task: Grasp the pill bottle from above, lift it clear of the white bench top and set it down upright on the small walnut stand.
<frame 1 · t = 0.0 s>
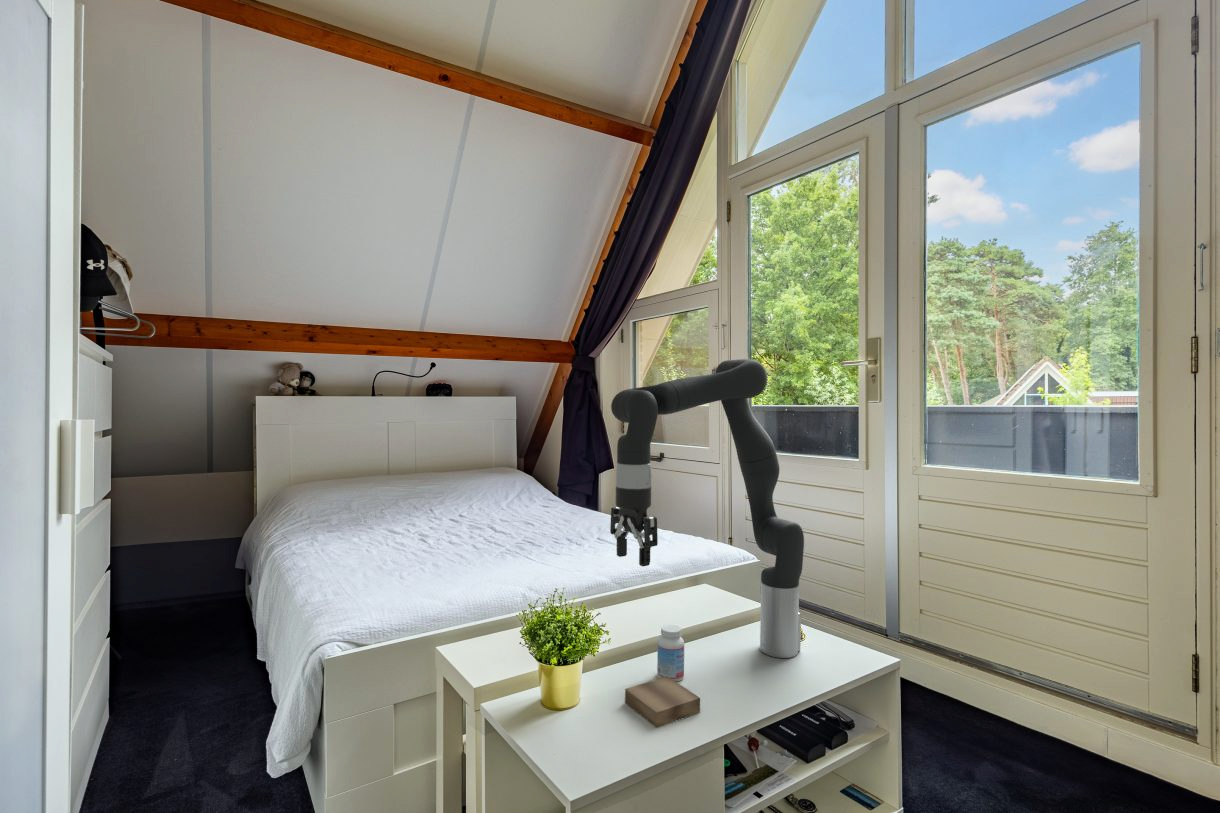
hand: (632, 560, 130), 29 cm above the table, tool pointing down, fingers open, 8 cm apart
walnut stand: (662, 707, 127), on the table
pill bottle: (670, 677, 140), on the table
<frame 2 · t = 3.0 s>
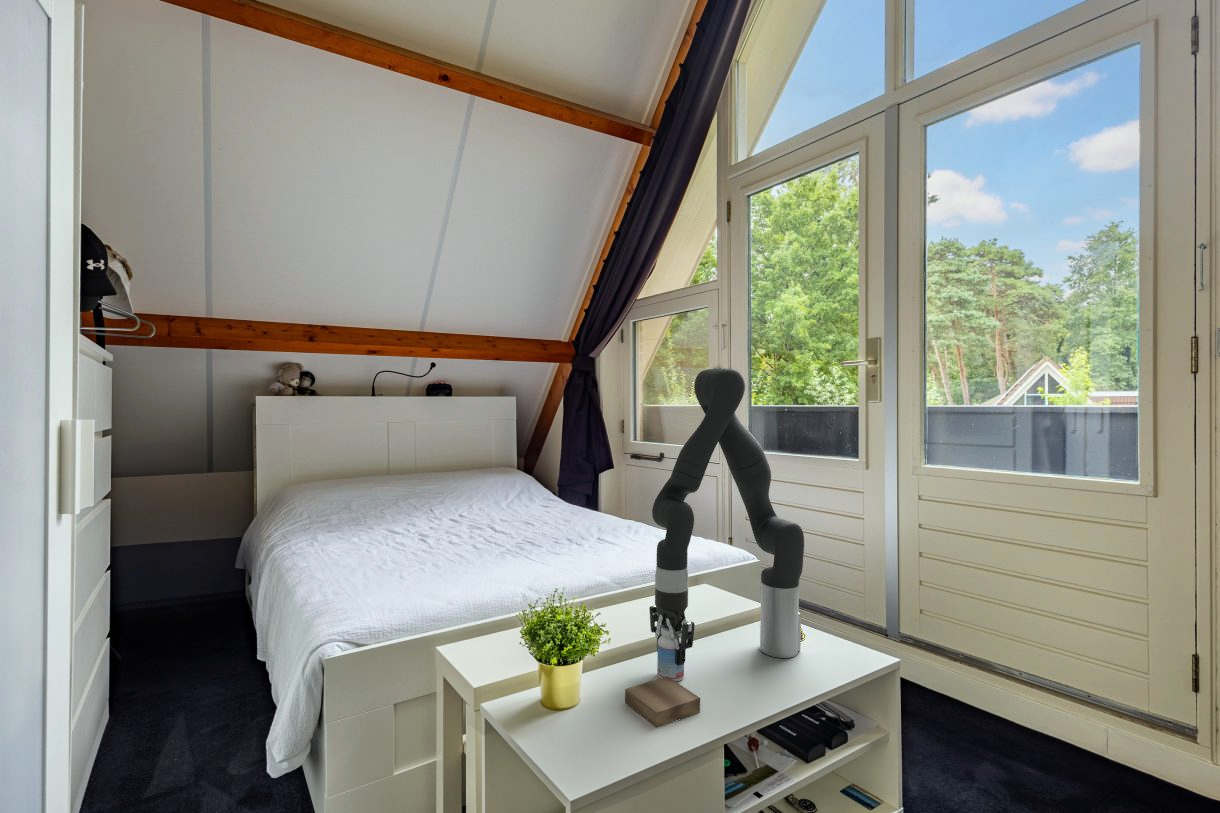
hand: (670, 658, 140), 4 cm above the table, tool pointing down, fingers closed on pill bottle, 6 cm apart
pill bottle: (670, 677, 140), on the table, touching gripper
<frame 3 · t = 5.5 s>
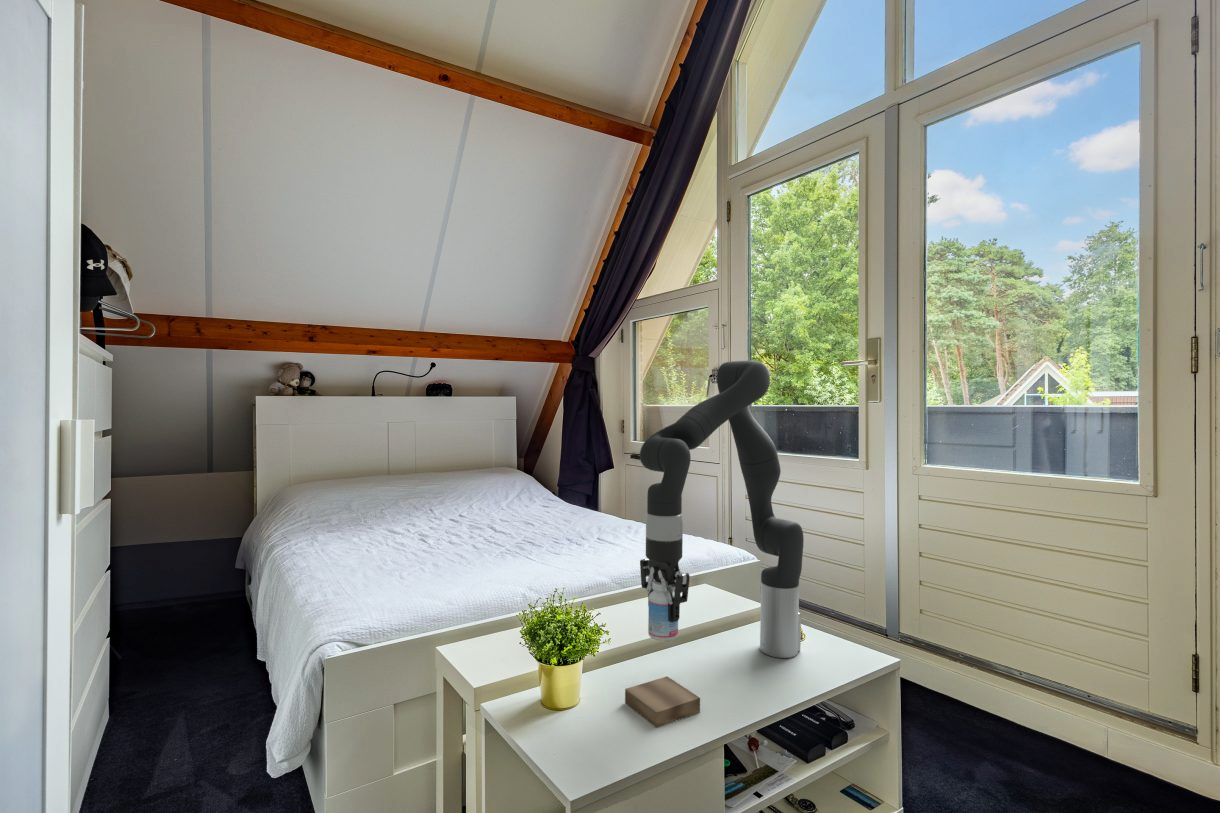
hand: (663, 615, 126), 19 cm above the table, tool pointing down, fingers closed on pill bottle, 6 cm apart
pill bottle: (663, 637, 126), point 15 cm above the table, touching gripper
when the fingers open (8 cm above the table, at t = 8.3 s): pill bottle drops 1 cm, resting on walnut stand.
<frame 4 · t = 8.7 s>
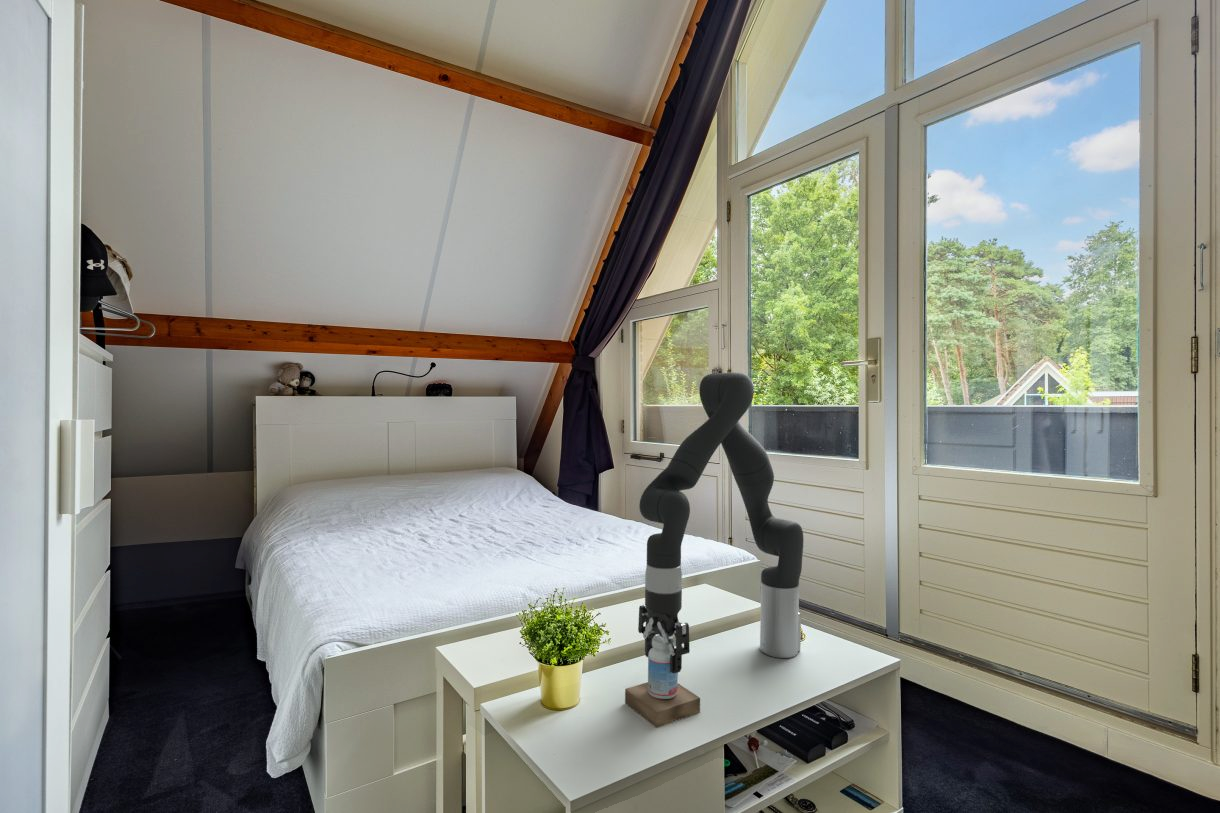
hand: (662, 664, 126), 9 cm above the table, tool pointing down, fingers open, 8 cm apart
pill bottle: (662, 694, 127), point 3 cm above the table, touching walnut stand
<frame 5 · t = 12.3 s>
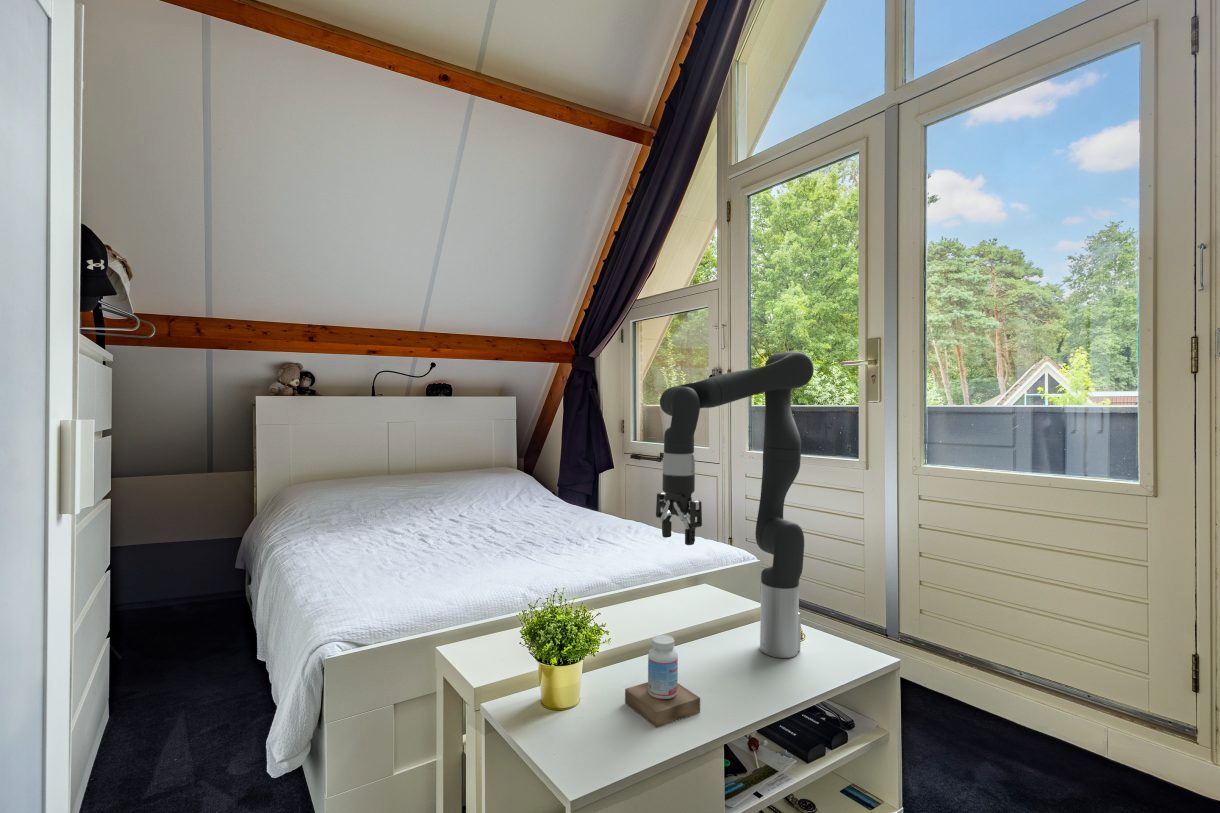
hand: (677, 540, 144), 30 cm above the table, tool pointing down, fingers open, 8 cm apart
nothing on the table moved.
at the end: pill bottle 0.1 cm from the walnut stand (horizontally); pill bottle point 2.8 cm above the table; pill bottle tilted 0° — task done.
